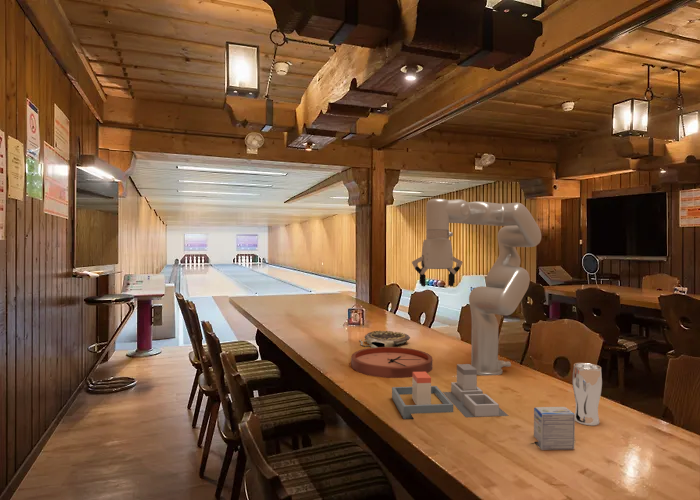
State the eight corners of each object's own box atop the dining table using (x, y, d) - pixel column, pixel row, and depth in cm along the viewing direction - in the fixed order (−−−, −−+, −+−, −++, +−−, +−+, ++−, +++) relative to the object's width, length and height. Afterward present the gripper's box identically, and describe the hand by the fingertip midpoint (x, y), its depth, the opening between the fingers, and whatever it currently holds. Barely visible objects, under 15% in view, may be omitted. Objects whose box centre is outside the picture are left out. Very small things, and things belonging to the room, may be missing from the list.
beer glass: (575, 414, 125) (576, 361, 125) (603, 420, 121) (604, 365, 121) (569, 421, 120) (570, 366, 120) (598, 428, 115) (599, 371, 115)
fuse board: (479, 395, 140) (479, 381, 140) (508, 421, 120) (508, 404, 120) (442, 396, 139) (442, 382, 139) (465, 422, 119) (465, 406, 119)
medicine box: (565, 441, 108) (565, 406, 108) (575, 450, 104) (575, 413, 103) (533, 442, 108) (533, 406, 108) (541, 450, 103) (542, 413, 103)
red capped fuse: (425, 401, 133) (425, 371, 133) (430, 409, 127) (431, 377, 127) (412, 401, 133) (412, 371, 133) (417, 409, 127) (417, 378, 127)
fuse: (469, 392, 138) (469, 364, 138) (476, 399, 132) (476, 369, 132) (456, 393, 138) (456, 364, 138) (463, 400, 132) (463, 369, 132)
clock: (351, 346, 189) (424, 346, 189) (351, 356, 189) (424, 356, 190) (351, 367, 158) (440, 367, 158) (351, 378, 158) (440, 379, 158)
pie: (359, 337, 227) (359, 327, 227) (412, 338, 226) (413, 328, 226) (359, 350, 199) (359, 339, 199) (420, 352, 198) (420, 341, 198)
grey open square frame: (436, 397, 139) (436, 385, 139) (453, 417, 123) (453, 404, 123) (391, 398, 137) (391, 387, 137) (403, 419, 121) (403, 406, 121)
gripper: (458, 235, 156) (458, 284, 156) (409, 235, 154) (409, 285, 154) (466, 235, 148) (465, 287, 149) (415, 235, 146) (414, 287, 147)
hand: (437, 286), depth 151 cm, fingers open, 9 cm apart
